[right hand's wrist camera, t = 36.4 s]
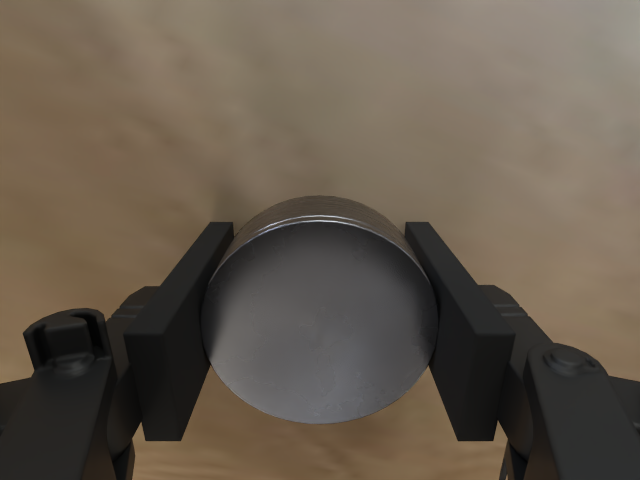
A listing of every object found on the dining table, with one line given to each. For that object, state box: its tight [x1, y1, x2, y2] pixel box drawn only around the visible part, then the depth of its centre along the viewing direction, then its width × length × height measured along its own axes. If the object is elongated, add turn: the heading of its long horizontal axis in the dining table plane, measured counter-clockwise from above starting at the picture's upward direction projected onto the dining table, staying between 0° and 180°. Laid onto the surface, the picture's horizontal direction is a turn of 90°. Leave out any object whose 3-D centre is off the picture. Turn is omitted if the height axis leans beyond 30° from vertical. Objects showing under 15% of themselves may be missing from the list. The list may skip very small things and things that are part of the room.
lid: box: [200, 196, 439, 424], centre depth 11 cm, size 6×6×2 cm
